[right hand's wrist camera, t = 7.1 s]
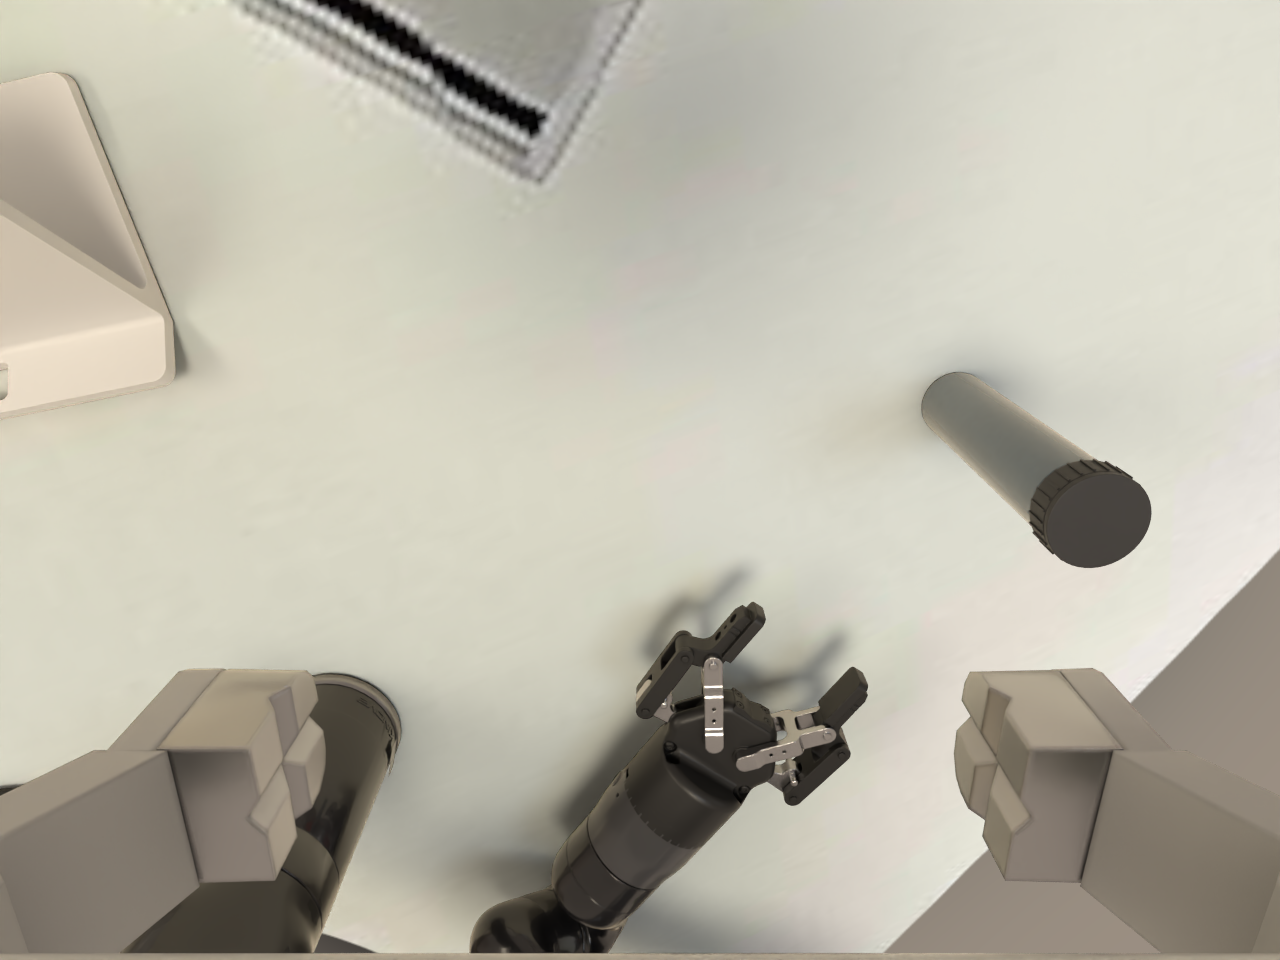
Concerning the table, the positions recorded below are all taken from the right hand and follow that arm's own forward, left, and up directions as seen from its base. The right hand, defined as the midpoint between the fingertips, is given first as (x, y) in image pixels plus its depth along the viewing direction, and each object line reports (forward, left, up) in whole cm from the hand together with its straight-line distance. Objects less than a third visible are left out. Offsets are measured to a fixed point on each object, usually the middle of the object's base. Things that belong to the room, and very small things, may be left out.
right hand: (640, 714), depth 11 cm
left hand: (+24, +9, -38) cm, 46 cm away
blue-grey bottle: (+11, +20, -45) cm, 50 cm away
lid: (+11, +20, -26) cm, 35 cm away
